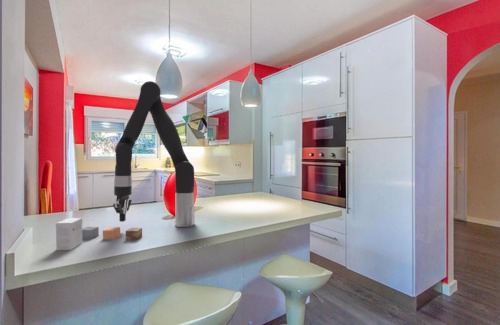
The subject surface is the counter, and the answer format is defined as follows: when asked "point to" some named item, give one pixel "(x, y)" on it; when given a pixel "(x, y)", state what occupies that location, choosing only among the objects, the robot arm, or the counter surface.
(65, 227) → the small box
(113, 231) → the terracotta block
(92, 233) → the grey block
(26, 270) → the counter surface
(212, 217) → the counter surface
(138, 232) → the walnut block
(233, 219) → the counter surface
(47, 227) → the counter surface
